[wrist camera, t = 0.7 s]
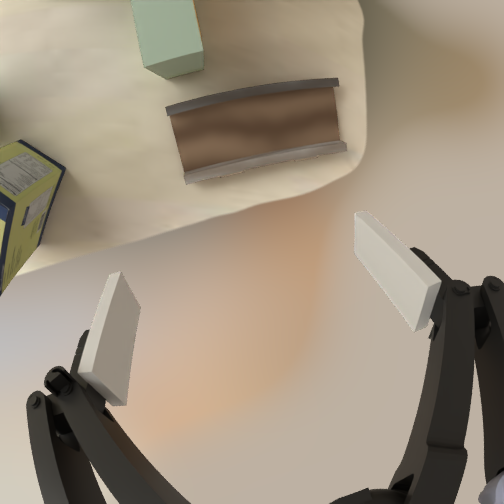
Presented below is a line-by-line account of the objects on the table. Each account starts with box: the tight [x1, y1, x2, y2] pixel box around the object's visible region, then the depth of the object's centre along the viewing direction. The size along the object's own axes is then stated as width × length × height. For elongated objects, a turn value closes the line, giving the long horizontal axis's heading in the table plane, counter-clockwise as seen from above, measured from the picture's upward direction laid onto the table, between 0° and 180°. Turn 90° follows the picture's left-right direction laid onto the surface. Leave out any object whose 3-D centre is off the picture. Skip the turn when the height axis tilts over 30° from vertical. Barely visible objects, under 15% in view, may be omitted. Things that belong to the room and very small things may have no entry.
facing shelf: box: [165, 78, 347, 185], centre depth 34 cm, size 11×22×3 cm, turn 101°
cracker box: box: [131, 0, 204, 79], centre depth 20 cm, size 16×5×14 cm, turn 11°
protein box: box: [0, 140, 66, 296], centre depth 26 cm, size 10×16×16 cm
